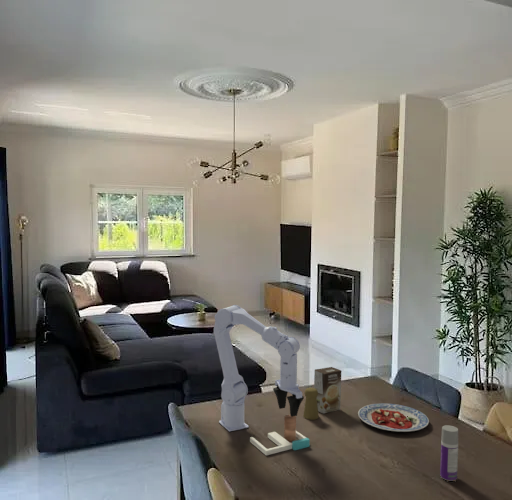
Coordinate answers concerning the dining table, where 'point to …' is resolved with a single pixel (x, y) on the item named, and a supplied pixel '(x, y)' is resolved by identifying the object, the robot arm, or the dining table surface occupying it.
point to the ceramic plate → (393, 417)
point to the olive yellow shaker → (311, 404)
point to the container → (449, 453)
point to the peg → (290, 428)
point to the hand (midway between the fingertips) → (287, 411)
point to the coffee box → (328, 389)
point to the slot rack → (281, 443)
